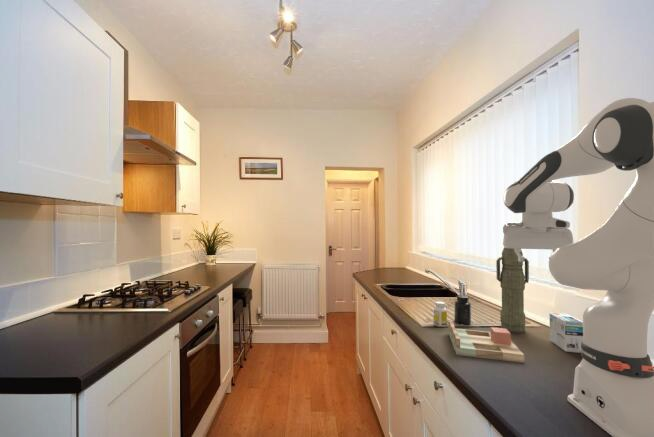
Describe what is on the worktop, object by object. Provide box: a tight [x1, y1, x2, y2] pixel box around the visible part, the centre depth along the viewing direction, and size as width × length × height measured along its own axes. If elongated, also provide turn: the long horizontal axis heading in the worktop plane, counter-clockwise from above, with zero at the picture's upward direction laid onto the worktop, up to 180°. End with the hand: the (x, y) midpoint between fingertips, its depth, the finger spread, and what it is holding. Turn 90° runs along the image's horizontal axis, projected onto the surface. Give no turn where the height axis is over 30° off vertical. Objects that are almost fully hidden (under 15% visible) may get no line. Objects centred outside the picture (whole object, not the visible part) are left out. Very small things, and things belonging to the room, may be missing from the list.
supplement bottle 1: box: [433, 301, 448, 328], centre depth 130 cm, size 5×5×10 cm
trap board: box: [448, 320, 525, 364], centre depth 106 cm, size 20×20×6 cm
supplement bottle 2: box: [453, 294, 472, 326], centre depth 133 cm, size 7×7×12 cm
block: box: [490, 326, 512, 345], centre depth 105 cm, size 5×5×4 cm
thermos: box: [495, 246, 530, 334], centre depth 125 cm, size 9×12×35 cm
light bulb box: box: [548, 312, 583, 354], centre depth 107 cm, size 11×7×11 cm, turn 168°
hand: (536, 262), depth 103 cm, fingers open, 8 cm apart
